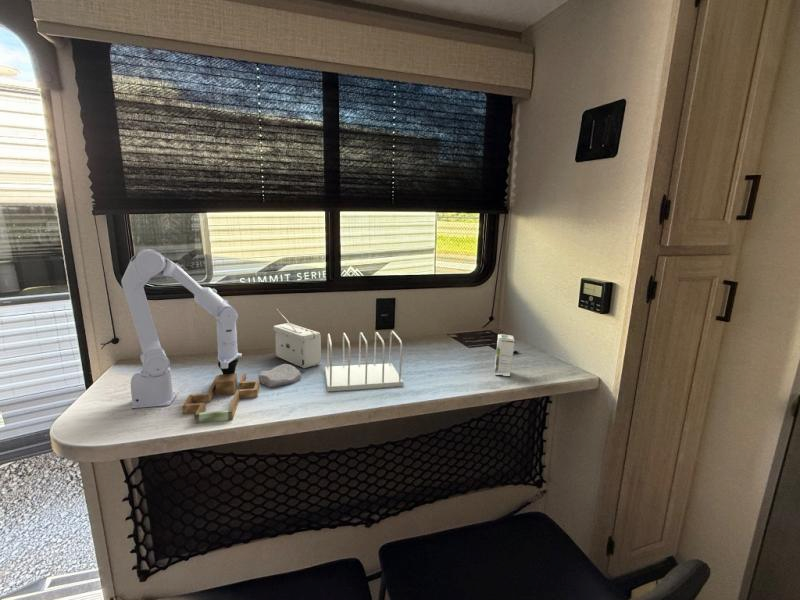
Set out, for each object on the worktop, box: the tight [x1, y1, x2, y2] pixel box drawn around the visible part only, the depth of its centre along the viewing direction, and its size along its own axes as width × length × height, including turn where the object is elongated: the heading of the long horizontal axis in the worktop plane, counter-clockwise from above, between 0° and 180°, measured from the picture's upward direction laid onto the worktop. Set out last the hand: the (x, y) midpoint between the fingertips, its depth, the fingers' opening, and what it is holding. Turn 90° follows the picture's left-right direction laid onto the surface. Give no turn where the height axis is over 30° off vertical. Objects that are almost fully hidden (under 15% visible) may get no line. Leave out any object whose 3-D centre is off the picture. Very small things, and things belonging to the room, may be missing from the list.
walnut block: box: [215, 372, 238, 397], centre depth 115 cm, size 5×6×4 cm
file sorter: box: [324, 330, 404, 392], centre depth 127 cm, size 25×17×16 cm
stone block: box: [257, 363, 302, 388], centre depth 124 cm, size 12×5×10 cm
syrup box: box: [494, 333, 515, 374], centre depth 135 cm, size 6×6×14 cm
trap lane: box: [181, 373, 261, 424], centre depth 110 cm, size 18×27×2 cm
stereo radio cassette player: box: [272, 308, 322, 369], centre depth 141 cm, size 21×8×20 cm, turn 50°
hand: (229, 381), depth 119 cm, fingers closed
